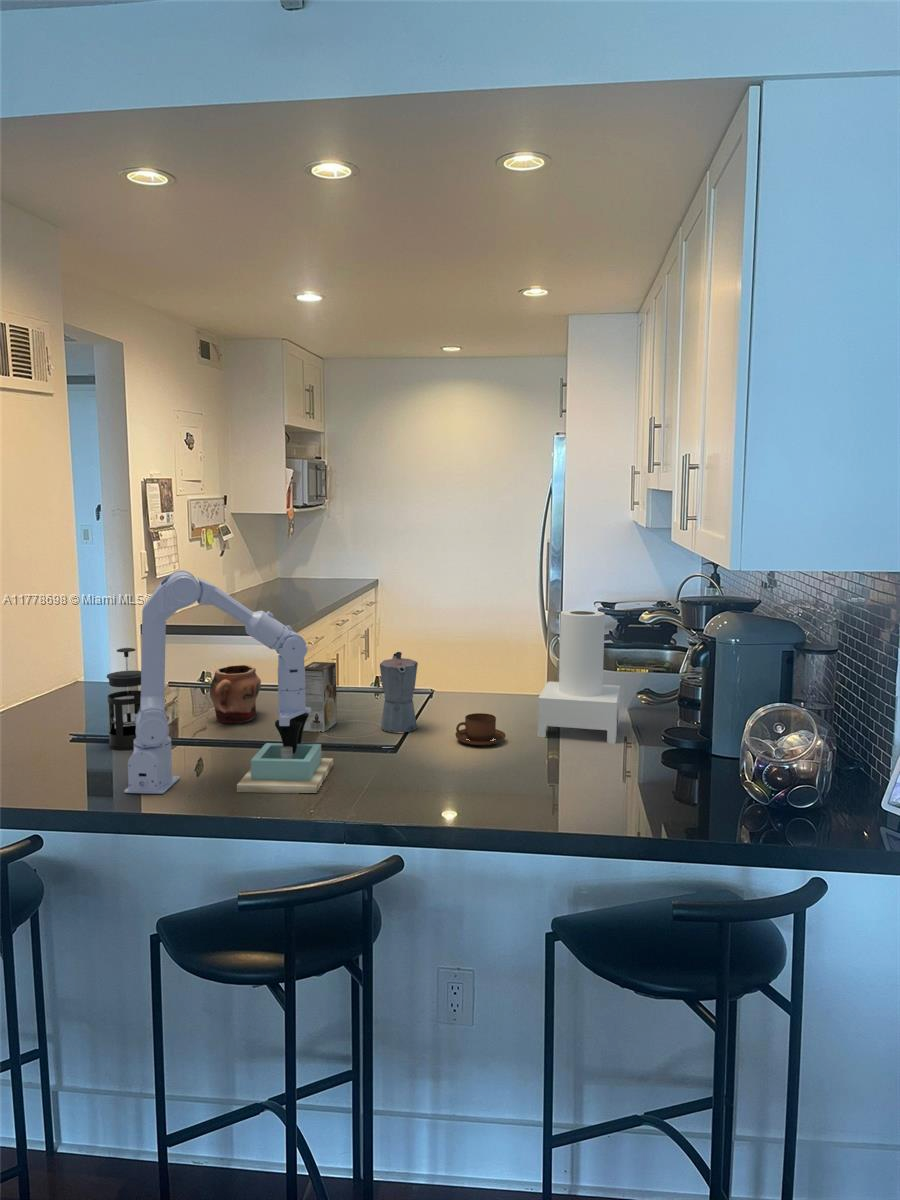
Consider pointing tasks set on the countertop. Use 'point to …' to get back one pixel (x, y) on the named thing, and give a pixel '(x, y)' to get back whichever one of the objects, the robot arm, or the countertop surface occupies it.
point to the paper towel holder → (580, 679)
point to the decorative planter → (235, 693)
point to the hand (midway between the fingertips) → (292, 750)
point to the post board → (287, 785)
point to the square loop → (286, 763)
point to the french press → (121, 735)
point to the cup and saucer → (479, 730)
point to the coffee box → (320, 696)
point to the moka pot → (398, 694)
